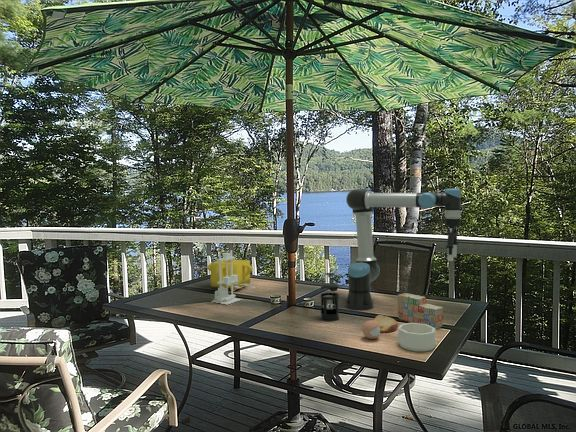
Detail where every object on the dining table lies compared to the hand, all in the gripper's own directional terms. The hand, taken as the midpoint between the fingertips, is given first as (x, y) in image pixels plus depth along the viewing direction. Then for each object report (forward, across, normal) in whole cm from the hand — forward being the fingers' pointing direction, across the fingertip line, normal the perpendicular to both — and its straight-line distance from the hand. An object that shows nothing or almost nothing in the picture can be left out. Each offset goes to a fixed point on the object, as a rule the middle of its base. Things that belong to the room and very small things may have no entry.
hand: (452, 258), depth 220 cm
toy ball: (+28, -58, +25) cm, 69 cm away
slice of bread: (+28, -39, +26) cm, 55 cm away
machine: (+28, -36, +112) cm, 121 cm away
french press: (+28, -39, +53) cm, 71 cm away
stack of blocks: (+28, -27, +11) cm, 41 cm away
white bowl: (+27, -58, +6) cm, 65 cm away
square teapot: (+29, -5, +139) cm, 142 cm away
